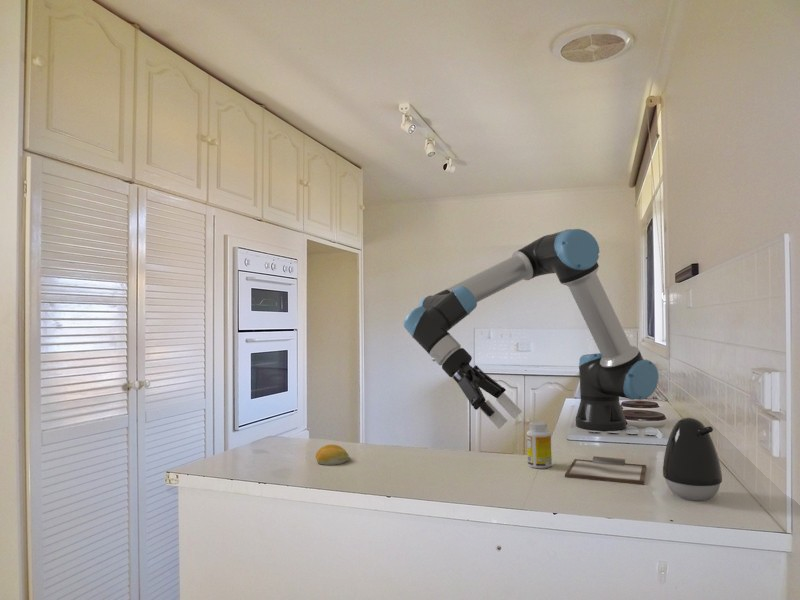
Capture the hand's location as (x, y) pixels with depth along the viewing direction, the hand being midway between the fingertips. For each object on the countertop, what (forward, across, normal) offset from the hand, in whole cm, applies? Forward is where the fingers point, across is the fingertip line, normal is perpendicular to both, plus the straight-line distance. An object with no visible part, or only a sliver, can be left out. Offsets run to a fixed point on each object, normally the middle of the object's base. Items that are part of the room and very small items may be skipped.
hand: (511, 420), depth 136 cm
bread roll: (-23, +12, -39) cm, 47 cm away
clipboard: (+23, -1, +8) cm, 24 cm away
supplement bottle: (+12, -1, -3) cm, 13 cm away
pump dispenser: (+35, +11, +20) cm, 41 cm away
